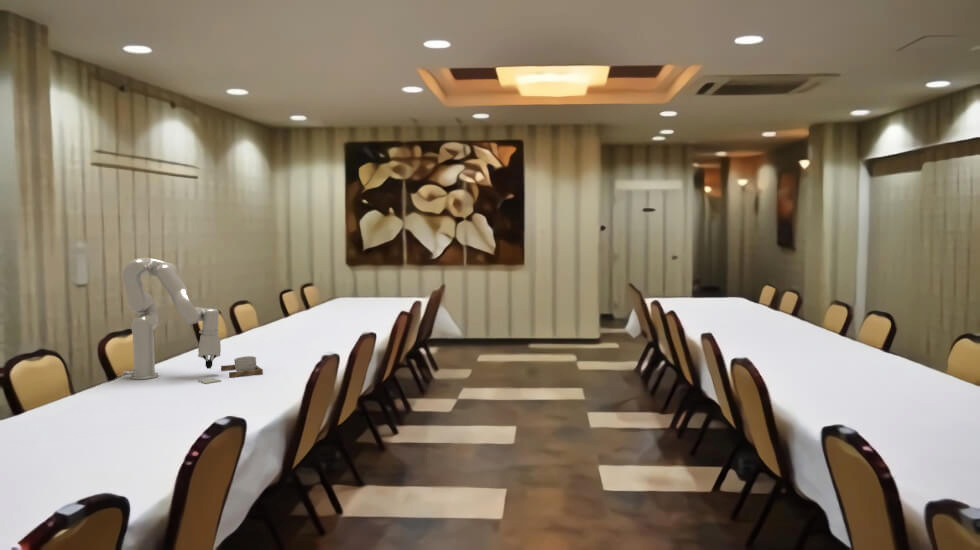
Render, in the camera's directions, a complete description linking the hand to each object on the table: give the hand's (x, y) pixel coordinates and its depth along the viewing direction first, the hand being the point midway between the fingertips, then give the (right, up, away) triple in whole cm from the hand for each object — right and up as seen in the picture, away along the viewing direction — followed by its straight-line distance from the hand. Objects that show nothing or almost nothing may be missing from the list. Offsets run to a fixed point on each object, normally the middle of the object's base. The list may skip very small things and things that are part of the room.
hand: (208, 368), depth 362 cm
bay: (+13, -3, +8) cm, 16 cm away
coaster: (+6, -6, -13) cm, 15 cm away
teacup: (+16, -4, +9) cm, 19 cm away
